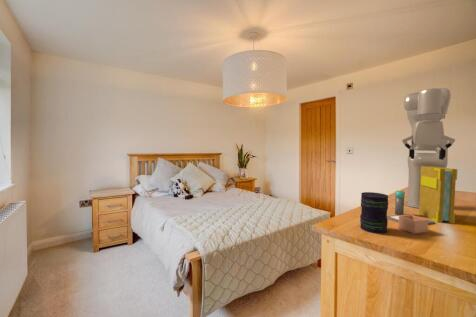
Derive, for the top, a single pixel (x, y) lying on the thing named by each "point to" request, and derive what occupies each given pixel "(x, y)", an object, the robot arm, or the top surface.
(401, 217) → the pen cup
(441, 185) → the book
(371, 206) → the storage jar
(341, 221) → the top surface
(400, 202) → the cylinder
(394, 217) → the writing mat
